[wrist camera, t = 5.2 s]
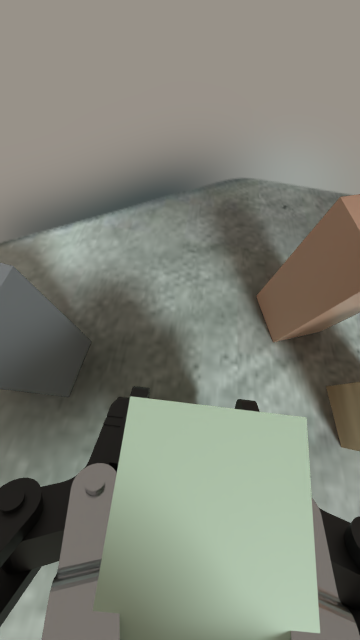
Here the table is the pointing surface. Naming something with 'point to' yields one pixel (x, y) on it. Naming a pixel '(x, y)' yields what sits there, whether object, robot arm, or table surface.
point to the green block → (210, 526)
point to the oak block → (346, 413)
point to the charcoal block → (36, 340)
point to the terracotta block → (317, 277)
